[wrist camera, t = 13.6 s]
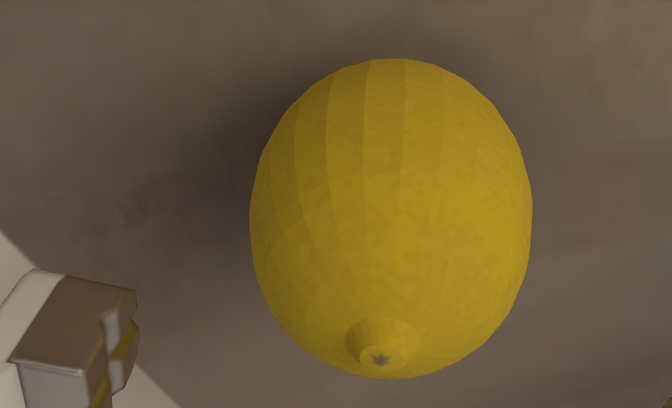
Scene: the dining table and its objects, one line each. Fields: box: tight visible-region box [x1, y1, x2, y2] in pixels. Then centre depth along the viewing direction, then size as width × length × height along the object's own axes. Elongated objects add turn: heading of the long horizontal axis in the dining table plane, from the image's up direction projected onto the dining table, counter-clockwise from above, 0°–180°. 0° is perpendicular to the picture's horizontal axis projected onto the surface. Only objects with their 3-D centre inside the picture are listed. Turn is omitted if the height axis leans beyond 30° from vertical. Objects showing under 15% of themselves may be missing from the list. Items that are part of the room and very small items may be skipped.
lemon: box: [249, 58, 532, 379], centre depth 13 cm, size 6×6×8 cm
